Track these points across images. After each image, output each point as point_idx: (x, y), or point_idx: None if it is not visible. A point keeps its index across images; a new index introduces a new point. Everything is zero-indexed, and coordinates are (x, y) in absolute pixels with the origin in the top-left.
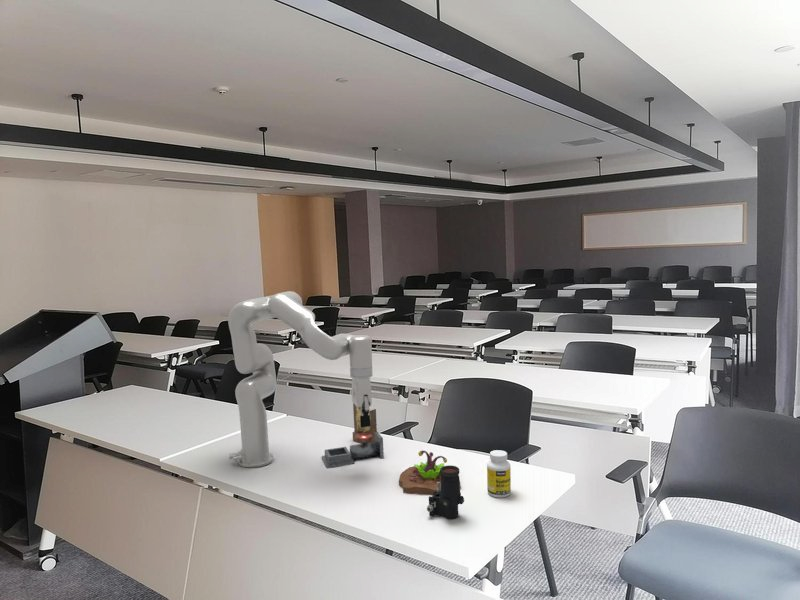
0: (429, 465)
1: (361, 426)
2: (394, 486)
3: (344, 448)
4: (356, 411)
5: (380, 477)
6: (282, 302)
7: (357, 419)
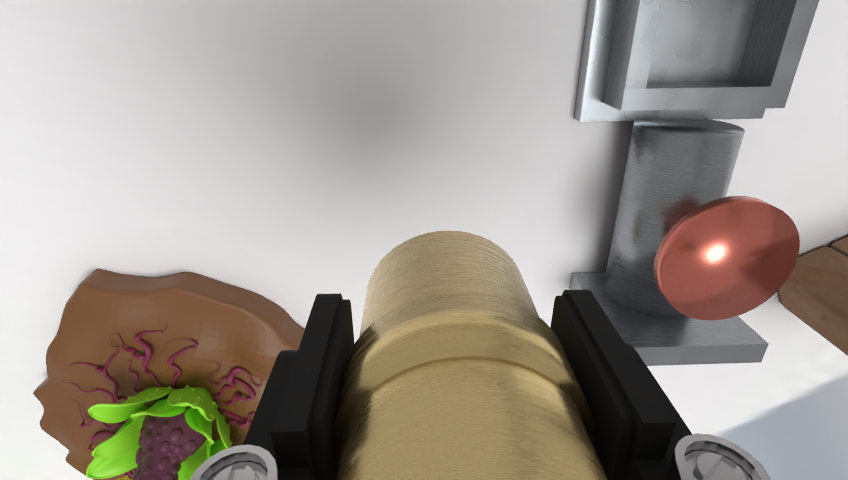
0: (140, 461)
1: (315, 303)
2: (180, 249)
3: (755, 88)
4: (660, 415)
5: (316, 212)
6: None
7: (412, 323)
